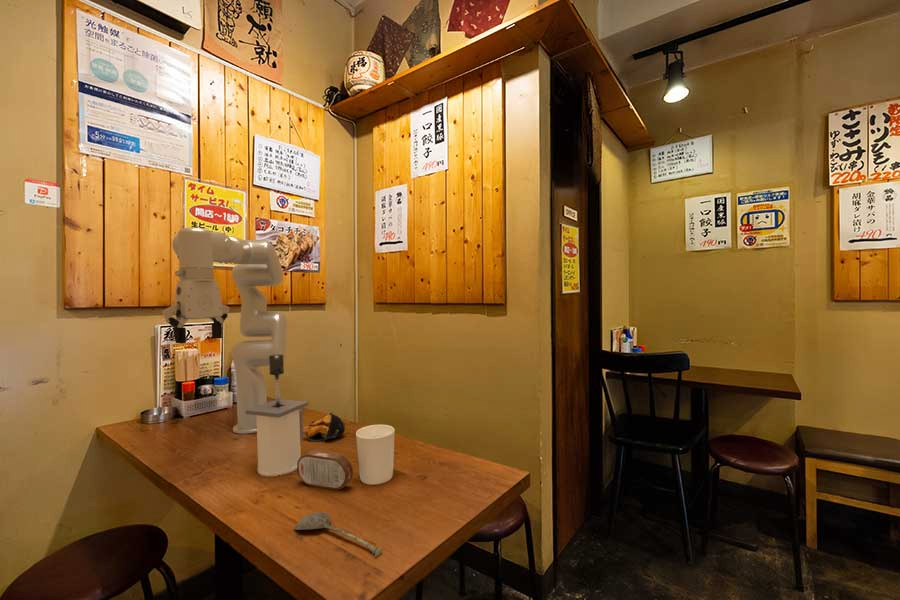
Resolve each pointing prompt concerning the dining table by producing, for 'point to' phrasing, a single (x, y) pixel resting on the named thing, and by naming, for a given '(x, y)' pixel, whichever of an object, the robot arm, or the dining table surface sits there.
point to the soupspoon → (323, 521)
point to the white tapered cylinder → (375, 453)
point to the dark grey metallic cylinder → (276, 373)
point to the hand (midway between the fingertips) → (199, 340)
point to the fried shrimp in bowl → (325, 428)
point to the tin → (325, 469)
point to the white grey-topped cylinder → (278, 436)
